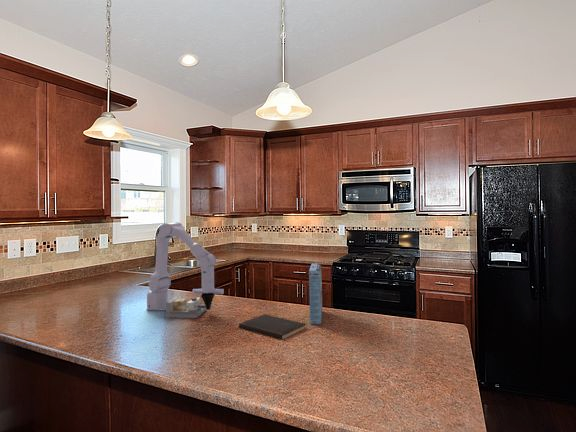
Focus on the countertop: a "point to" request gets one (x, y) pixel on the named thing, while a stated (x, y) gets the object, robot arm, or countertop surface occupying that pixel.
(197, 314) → the base
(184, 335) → the countertop surface
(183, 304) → the block
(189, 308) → the sliding jaw
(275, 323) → the hardcover book
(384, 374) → the countertop surface
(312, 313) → the gum box
